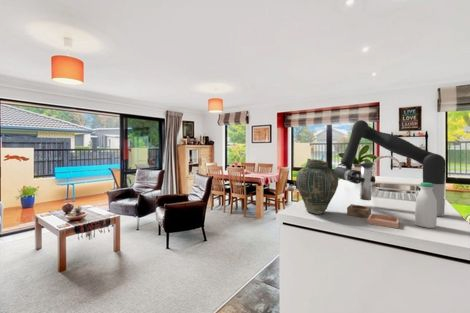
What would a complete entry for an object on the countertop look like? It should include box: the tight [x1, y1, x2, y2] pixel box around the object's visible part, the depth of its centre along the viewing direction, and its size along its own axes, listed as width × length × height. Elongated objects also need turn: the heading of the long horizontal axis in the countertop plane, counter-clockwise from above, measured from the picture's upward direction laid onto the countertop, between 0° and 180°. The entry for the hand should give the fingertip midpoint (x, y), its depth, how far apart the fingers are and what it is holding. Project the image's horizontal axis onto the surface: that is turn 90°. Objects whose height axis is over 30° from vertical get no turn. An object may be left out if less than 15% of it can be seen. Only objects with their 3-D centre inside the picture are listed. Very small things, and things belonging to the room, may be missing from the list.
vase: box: [295, 158, 339, 215], centre depth 132 cm, size 22×22×30 cm
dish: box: [366, 212, 400, 230], centre depth 114 cm, size 12×12×2 cm
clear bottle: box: [359, 162, 375, 201], centre depth 124 cm, size 6×6×19 cm
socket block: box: [346, 203, 372, 219], centre depth 128 cm, size 10×10×4 cm
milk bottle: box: [414, 182, 438, 229], centre depth 109 cm, size 8×8×20 cm
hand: (368, 180), depth 121 cm, fingers closed on clear bottle, 5 cm apart
